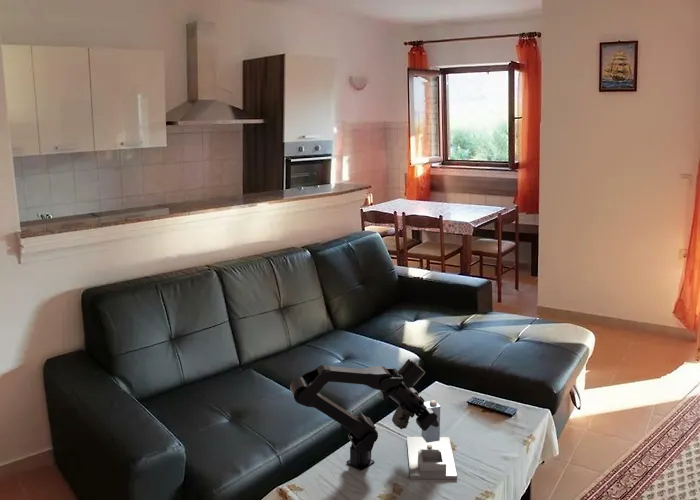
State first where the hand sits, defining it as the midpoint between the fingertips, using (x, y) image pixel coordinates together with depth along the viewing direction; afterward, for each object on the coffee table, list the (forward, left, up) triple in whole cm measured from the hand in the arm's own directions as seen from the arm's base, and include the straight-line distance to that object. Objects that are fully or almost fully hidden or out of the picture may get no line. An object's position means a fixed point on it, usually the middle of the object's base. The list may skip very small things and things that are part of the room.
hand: (434, 422), depth 208 cm
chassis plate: (-5, -2, -10) cm, 11 cm away
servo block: (-1, +1, -5) cm, 6 cm away
